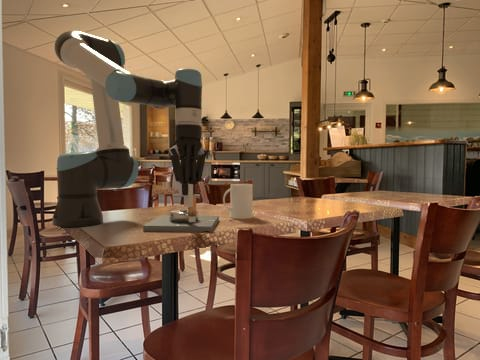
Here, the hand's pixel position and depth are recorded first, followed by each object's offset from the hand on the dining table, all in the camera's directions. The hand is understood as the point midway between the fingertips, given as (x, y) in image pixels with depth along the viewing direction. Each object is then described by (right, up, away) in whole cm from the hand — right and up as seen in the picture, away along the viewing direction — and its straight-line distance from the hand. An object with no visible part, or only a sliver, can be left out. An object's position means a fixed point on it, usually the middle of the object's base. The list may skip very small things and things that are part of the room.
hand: (188, 206), depth 106 cm
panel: (-3, -7, +10) cm, 13 cm away
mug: (+14, -6, +27) cm, 31 cm away
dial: (-2, -5, +8) cm, 9 cm away
